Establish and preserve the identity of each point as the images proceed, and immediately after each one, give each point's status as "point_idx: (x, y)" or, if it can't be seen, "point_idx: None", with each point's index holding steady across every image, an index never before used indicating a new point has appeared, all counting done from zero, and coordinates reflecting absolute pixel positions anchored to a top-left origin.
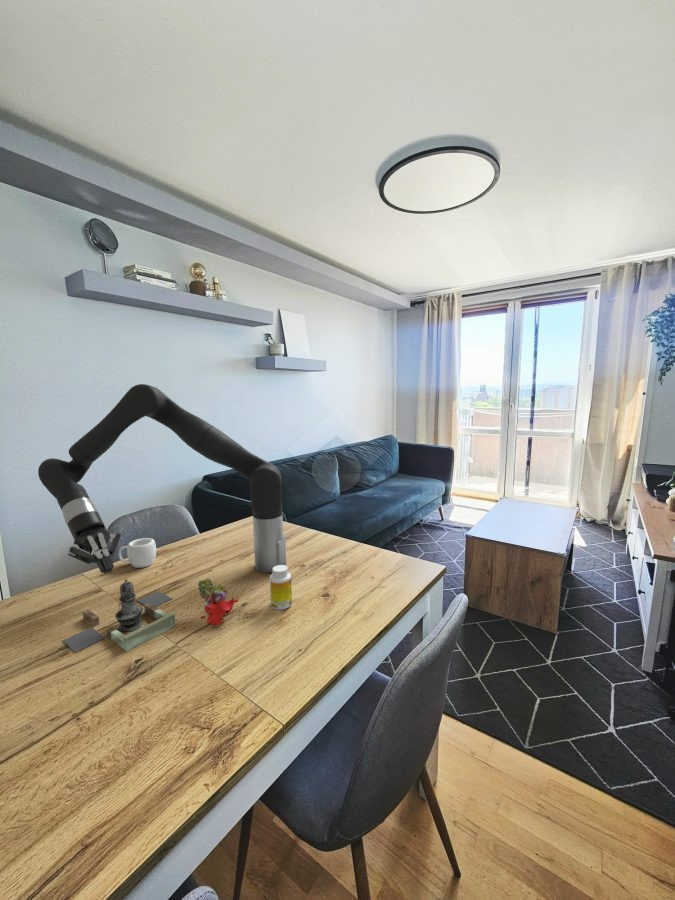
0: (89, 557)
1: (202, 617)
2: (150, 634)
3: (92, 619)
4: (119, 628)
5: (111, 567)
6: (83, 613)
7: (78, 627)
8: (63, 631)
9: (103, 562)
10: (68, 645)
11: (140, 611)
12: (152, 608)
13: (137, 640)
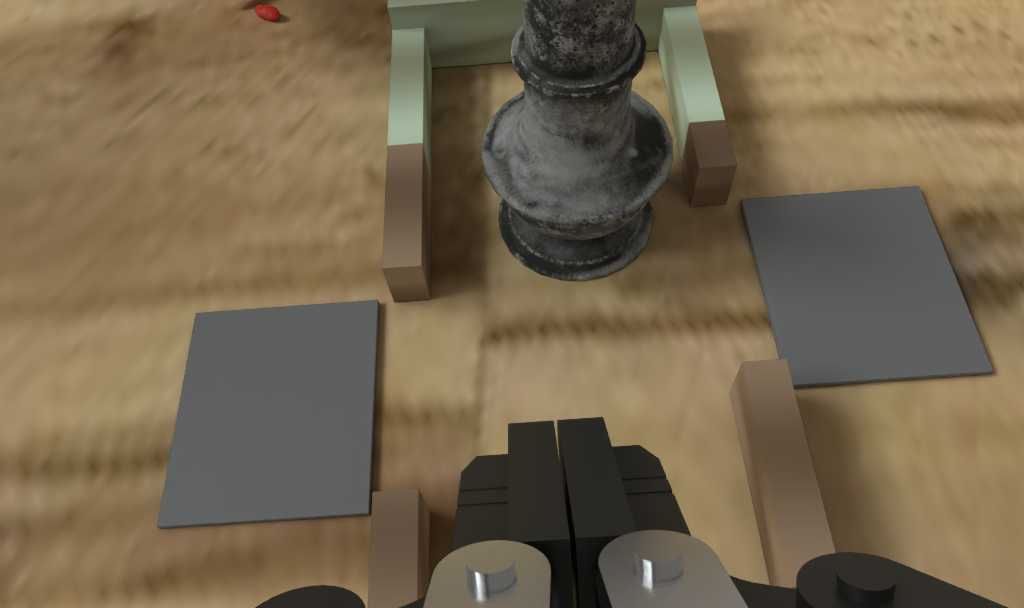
0: (910, 586)
1: (273, 9)
2: None
3: (787, 376)
4: (641, 227)
5: (520, 423)
6: None
7: (872, 480)
8: (985, 516)
9: (615, 483)
10: (955, 279)
11: (519, 98)
12: (411, 180)
13: None
